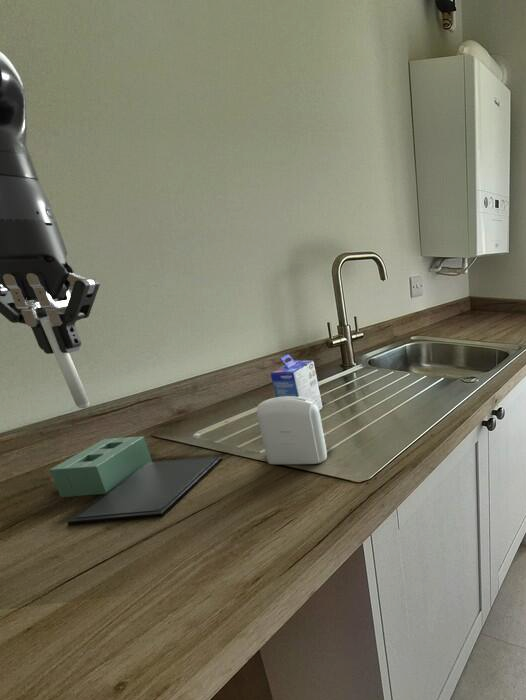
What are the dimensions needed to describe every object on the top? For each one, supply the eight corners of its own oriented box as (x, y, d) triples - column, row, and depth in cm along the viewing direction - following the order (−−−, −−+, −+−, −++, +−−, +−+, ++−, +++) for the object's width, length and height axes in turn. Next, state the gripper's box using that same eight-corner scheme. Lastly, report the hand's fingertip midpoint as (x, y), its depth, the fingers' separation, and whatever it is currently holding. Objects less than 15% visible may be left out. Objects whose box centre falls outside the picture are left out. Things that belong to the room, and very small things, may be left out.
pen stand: (60, 497, 64) (48, 469, 63) (113, 463, 74) (104, 438, 73) (106, 493, 65) (96, 466, 64) (152, 460, 75) (144, 436, 74)
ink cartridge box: (300, 408, 99) (289, 350, 95) (323, 408, 99) (313, 350, 95) (279, 425, 90) (266, 361, 85) (305, 424, 90) (293, 361, 85)
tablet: (68, 525, 58) (66, 521, 57) (149, 465, 74) (148, 461, 73) (162, 517, 59) (161, 512, 59) (222, 460, 75) (221, 456, 75)
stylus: (75, 410, 59) (35, 318, 54) (83, 406, 60) (44, 315, 55) (86, 409, 59) (47, 317, 54) (93, 405, 60) (56, 315, 56)
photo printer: (263, 466, 73) (249, 401, 69) (277, 454, 77) (264, 393, 73) (320, 466, 73) (309, 401, 69) (331, 454, 77) (321, 393, 73)
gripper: (-90, 216, 47) (-23, 362, 52) (47, 215, 49) (97, 355, 54) (-20, 220, 54) (32, 348, 59) (97, 219, 56) (137, 343, 61)
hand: (63, 351), depth 57 cm, fingers closed on stylus, 1 cm apart
